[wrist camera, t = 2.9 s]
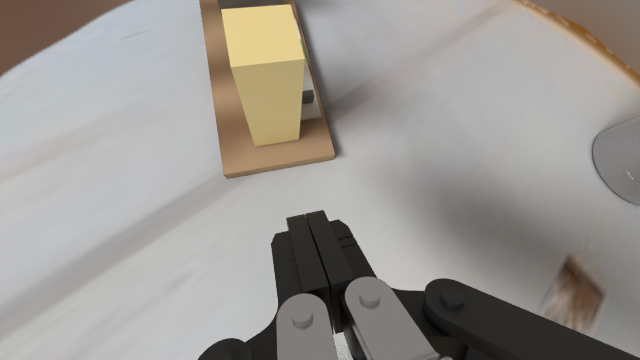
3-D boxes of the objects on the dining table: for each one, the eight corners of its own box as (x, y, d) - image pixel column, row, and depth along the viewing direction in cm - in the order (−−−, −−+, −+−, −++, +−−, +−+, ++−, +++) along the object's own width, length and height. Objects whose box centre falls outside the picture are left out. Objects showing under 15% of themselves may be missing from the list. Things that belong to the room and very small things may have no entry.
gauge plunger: (321, 135, 24) (341, 54, 15) (255, 146, 23) (230, 67, 14) (303, 68, 26) (311, -41, 17) (242, 76, 25) (213, -36, 16)
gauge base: (333, 159, 25) (349, 121, 18) (226, 178, 23) (200, 144, 17) (291, 3, 30) (292, -71, 24) (202, 10, 29) (175, -69, 22)
